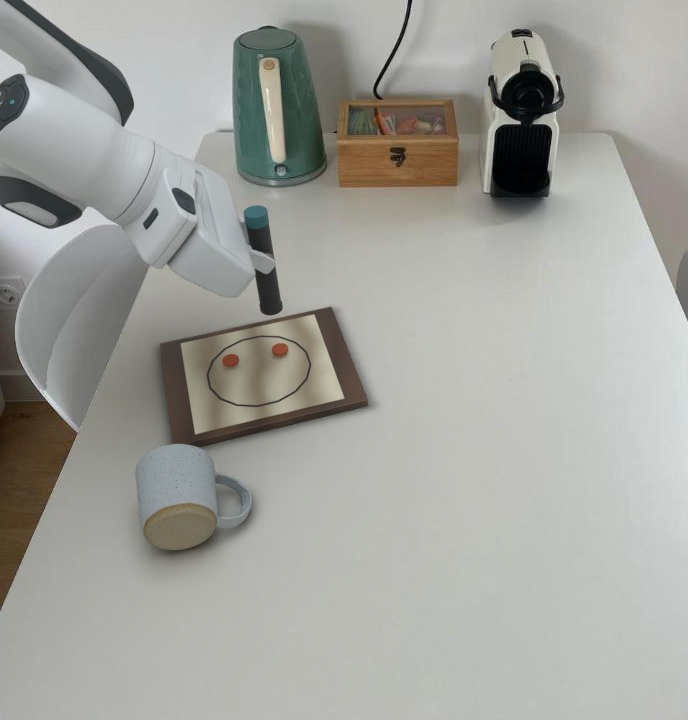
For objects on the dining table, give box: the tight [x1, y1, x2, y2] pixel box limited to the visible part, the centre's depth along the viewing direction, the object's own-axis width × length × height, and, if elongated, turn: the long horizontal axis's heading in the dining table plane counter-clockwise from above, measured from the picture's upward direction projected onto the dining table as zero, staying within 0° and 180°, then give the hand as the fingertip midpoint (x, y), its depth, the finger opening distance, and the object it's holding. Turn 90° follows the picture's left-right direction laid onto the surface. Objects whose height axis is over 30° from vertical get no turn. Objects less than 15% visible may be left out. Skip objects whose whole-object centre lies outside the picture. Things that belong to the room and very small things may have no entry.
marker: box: [242, 204, 284, 316], centre depth 89 cm, size 3×3×13 cm
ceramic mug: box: [134, 443, 253, 551], centre depth 80 cm, size 11×8×8 cm
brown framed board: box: [159, 306, 369, 448], centre depth 97 cm, size 22×18×1 cm
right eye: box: [272, 343, 288, 356], centre depth 98 cm, size 2×2×1 cm
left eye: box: [222, 354, 239, 367], centre depth 97 cm, size 2×2×1 cm
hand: (268, 256), depth 89 cm, fingers closed on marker, 2 cm apart
